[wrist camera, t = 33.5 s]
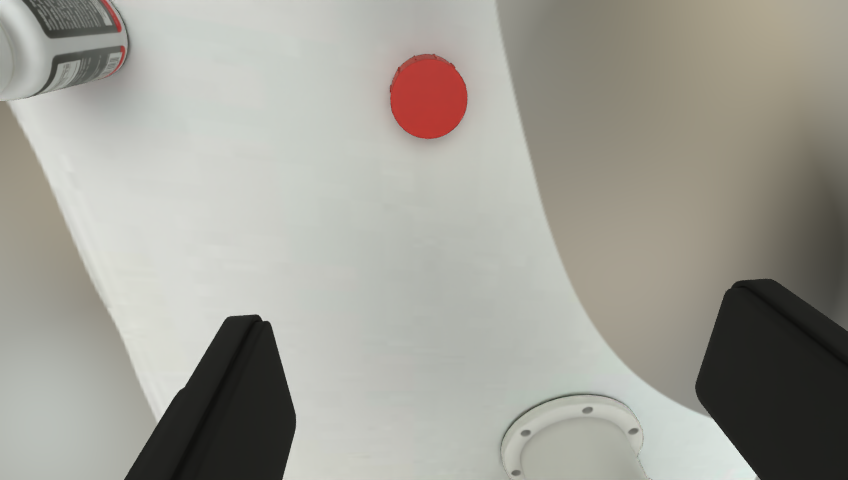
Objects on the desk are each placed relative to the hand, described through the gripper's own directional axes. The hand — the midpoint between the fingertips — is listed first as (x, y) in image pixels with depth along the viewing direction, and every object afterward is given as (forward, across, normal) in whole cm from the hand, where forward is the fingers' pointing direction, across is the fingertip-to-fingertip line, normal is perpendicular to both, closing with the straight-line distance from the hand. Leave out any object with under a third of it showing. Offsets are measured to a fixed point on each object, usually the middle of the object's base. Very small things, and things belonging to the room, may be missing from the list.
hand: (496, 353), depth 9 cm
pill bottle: (+18, +18, -7) cm, 26 cm away
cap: (+16, 0, -3) cm, 16 cm away
